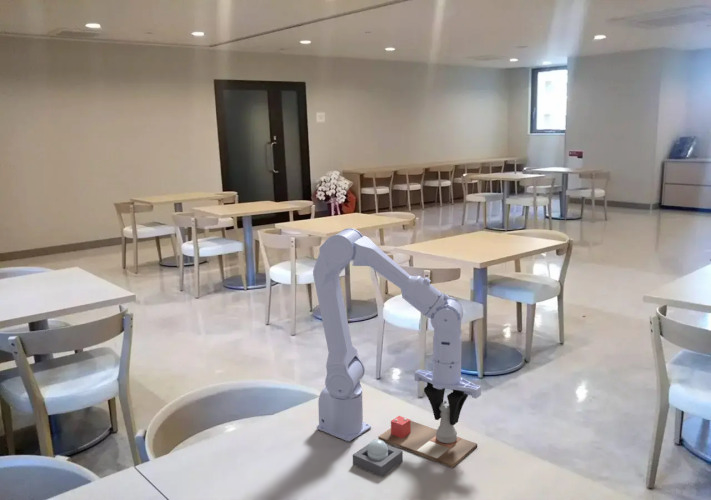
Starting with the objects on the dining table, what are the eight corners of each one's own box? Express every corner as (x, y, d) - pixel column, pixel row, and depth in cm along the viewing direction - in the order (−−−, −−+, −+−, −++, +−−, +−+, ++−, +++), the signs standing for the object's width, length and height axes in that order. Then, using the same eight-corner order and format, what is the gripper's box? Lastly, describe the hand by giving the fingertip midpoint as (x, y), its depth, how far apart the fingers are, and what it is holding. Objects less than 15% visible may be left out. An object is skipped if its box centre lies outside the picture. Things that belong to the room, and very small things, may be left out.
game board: (378, 439, 125) (378, 436, 125) (405, 421, 132) (405, 418, 132) (452, 467, 114) (452, 464, 114) (477, 446, 121) (477, 443, 121)
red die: (390, 433, 126) (390, 419, 125) (399, 428, 128) (399, 414, 127) (402, 438, 124) (402, 423, 123) (410, 432, 126) (410, 418, 126)
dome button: (363, 462, 115) (363, 441, 115) (375, 453, 118) (375, 433, 118) (379, 469, 113) (379, 448, 112) (392, 460, 116) (391, 439, 115)
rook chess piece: (458, 444, 121) (458, 408, 119) (436, 444, 121) (436, 408, 120) (456, 434, 125) (456, 398, 123) (435, 433, 125) (435, 398, 124)
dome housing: (352, 464, 115) (352, 454, 115) (374, 449, 121) (374, 440, 120) (381, 477, 111) (381, 466, 111) (402, 461, 116) (402, 451, 116)
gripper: (406, 356, 121) (406, 417, 124) (469, 373, 112) (468, 438, 115) (424, 346, 126) (424, 405, 129) (486, 362, 117) (484, 424, 120)
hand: (446, 420), depth 122 cm, fingers closed on rook chess piece, 3 cm apart
